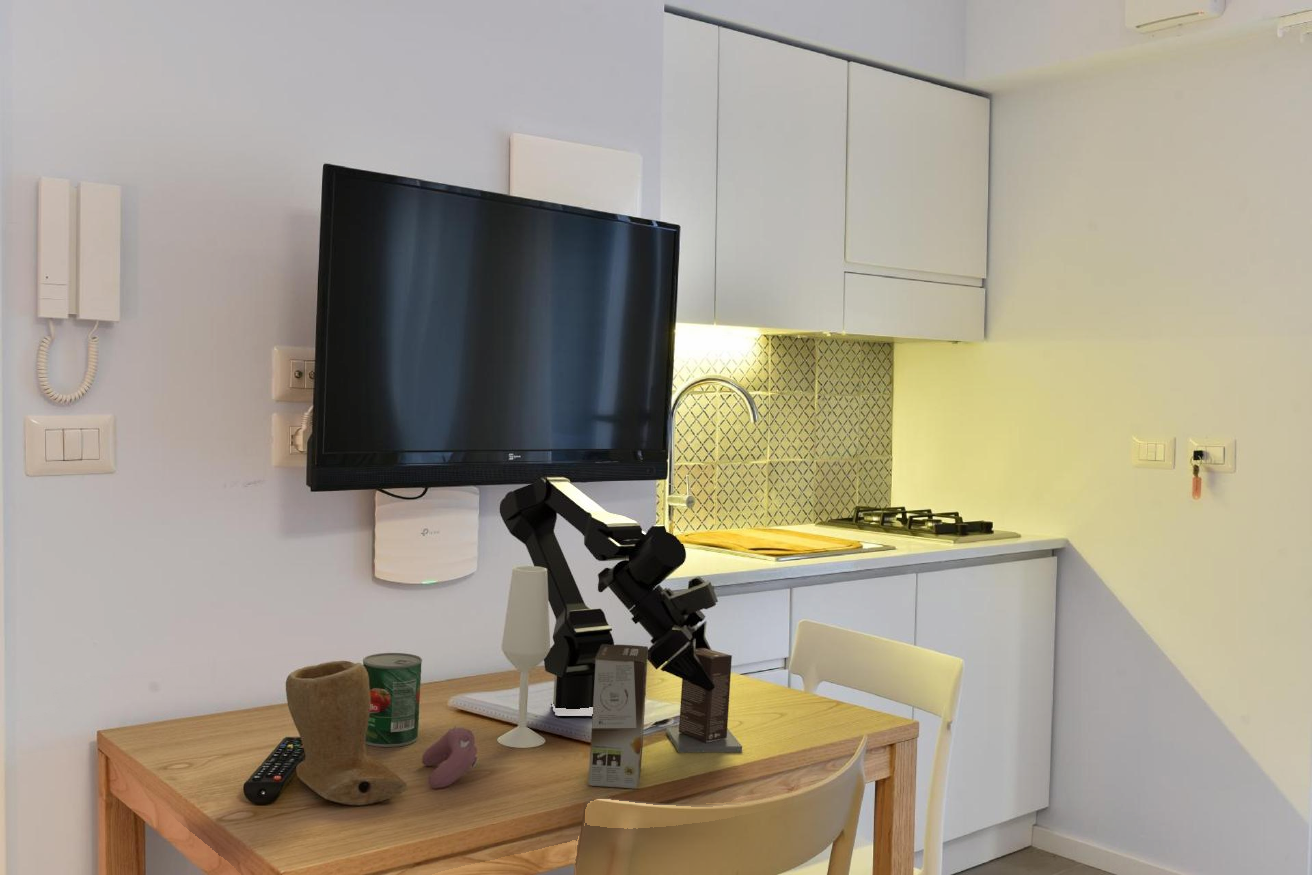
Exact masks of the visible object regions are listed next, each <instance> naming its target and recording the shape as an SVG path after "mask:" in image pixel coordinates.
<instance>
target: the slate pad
mask: <svg viewBox="0 0 1312 875" xmlns="http://www.w3.org/2000/svg"><path fill="white" fill-rule="evenodd" d="M665 729H666V730H665V734H666V735H667V737H668V738H669V739H670V741H671V743H672V744H673V747H675V749H676V750H677V752H678V753H742V752H743V745H742V744H741V743H740V742H739V741H738V739H737V738H736V737H735V736H734V735H733V733H732V731H730V730H729V728H728V727H727V738H725V739H722V740H718V741H714V742H705V741H702V740H700V739H697V738H694V737H692V736H689V735H686V734H683V733H680V732H679V726H675V727H674V726H669V727H668V726H667V727H666V728H665Z"/></svg>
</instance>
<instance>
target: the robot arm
mask: <svg viewBox="0 0 1312 875" xmlns="http://www.w3.org/2000/svg"><path fill="white" fill-rule="evenodd" d="M499 515H500V517H501V519H502V522H503V523H504V525H505V526H506V528H507V530H508V532H509V534H510V535H512V536H513V537H514V538H515V539H517V540H519V541H520V542H521V543H522V544H523V545H525V547H526V550H527V552H528V554H529V557H530V559H531V561H532V564H533V566H536V567H543V568H546V569H547V580H548V604H549V605H550V607H551V611H552V613H553V615H554V618H555V623H554V629H553V634H552V640H553V644H552V646H550V651H549V653H548V655H547V656H546V657H545V659H544V660H543V664H544V670H545V672H546V673H549V674H552V675H554V680H553V682H554V683H553V697H552V698H553V701H552V702H553V704H554V706H555V708H566V709H580V708H589V707H593V695H594V679H595V657H596V655H597V653H598V651H599V649H600V647H601V645H602V644H608V645H615V640H614V637H613V634H612V631H613V629H612V627H611V626H610V625H609V623H608V620H607V618H606V614H605V612H604V611H603V609H602V608H601V607H598V608H597V607H596V608H590V607H588V606H587V605H586V603H585V601H584V598H583V597H582V593H581V591H580V588H579V586H578V585H577V582H576V580H575V578H574V575H573V573H572V570H571V568H570V566H569V563H568V562H567V559H566V556H565V554H564V552H563V550H562V547H561V545H560V543H559V541H558V539H557V535H556V534H555V529H556V528H555V527H556V524H557V520H558V515H559V516H561V517H562V518H563V519H564V520H565V521H567V522H568V524H570V525H571V526H572V527H574V528H575V529H576V530H577V531H578V532H579V533H581V534H582V536H583V539H584V540H583V545H584V547H585V548H586V549H587V550H588V551H589V553H590V554H591V555H592V556H593V557H594V559H596V561H598V562H609V561H619V562H617V563H616V564H615V565H614V566H612V568H610V567H605V568H603V570H602V569H601V571H600V572H599V573H598V574H597V577H598V584H597V591H598V593H603V592H604V591H605V590H606V589H608V588H609V589H610V591H611V592H612V593H613V594H614V595H615V596H616V598H618V600H619V601H620V603H622V604H623V606H624V607H625V608H626V609H627V610H628V611H629V613H631V615H632V617H631V620H632V621H633V623H634V624H635V625H637V624H638V623H639V624H640V625H641V626H642V628H643V629H644V631H646V632H647V633H648V635H649V636H650V637H651V639H650V643H651V645H650V647H648V656H647V661H648V662H649V663H650V664H651V665H652V666H653V667H654V669H655V670H658V669H659V668H660V670H661V671H662V672H666V673H668V674H670V675H673V676H674V677H677V678H680V679H681V680H682V679H684V680H686V681H688V682H690V683H692V684H694V685H696V686H698V687H701V688H703V689H705V690H707V691H709V692H710V691H712V690H713V689H714V688H715V685H714V683H713V681H712V680H711V678H710V676H709V675H708V673H707V672H706V670H705V668H704V667H703V665H702V664H701V662H700V661H699V659H698V657H697V656H696V654H695V649H696V648H706V649H710V650H712V648H711V646H710V644H709V642H708V640H707V638H706V632H707V631H706V629H707V624H708V623H707V620H705V618H706V615H705V614H704V613H703V612H702V610H708V609H711V608H713V607H715V606H716V605H717V603H718V602H719V600H718V598H717V595H716V593H715V587H714V585H712V583H711V580H707V581H705V580H704V579H703V578H701V576H696V577H694V578H692V579H691V578H690V580H689V581H688V583H687V584H688V585H687V588H686V589H683V590H682V591H678V592H676V593H674V592H673V591H672V590H671V588H667V587H665V588H664V589H663V587H662V586H661V583H663V582H664V581H665V580H666V579H667V578H668V577H670V576H671V574H673V573H675V572H676V571H677V569H679V568H680V567H681V566H682V565H683V564H684V563H685V562H686V558H687V552H686V551H687V550H686V547H685V545H684V544H683V543H682V542H681V540H679V539H678V538H677V537H676V535H674V534H673V533H671V532H669V531H667V529H666V525H664V524H658V525H651V527H650V528H649V529H648V530H647V532H645V531H643V529H642V526H641V525H640V524H639V523H638V522H637V521H636V520H633V519H631V518H629V517H627V516H624V515H620V514H615V513H612V512H611V513H610V512H608V511H606V510H605V509H604V508H602V507H601V506H600V505H599V504H597V503H596V502H595V501H594V500H592V499H590V497H588V496H587V495H586V494H585V493H584V492H582V491H581V490H580V489H578V488H577V487H575V486H574V485H573V484H572V481H570V479H569V478H566V477H564V476H542V477H541V478H538V479H536V480H535V481H534V482H532V483H530V484H527V485H525V486H522V487H520V488H516V489H514V490H512V491H511V490H510V491H509V492H507V493H505V496H504V498H502V500H501V501H500V504H499ZM704 620H705V621H704ZM703 621H704V622H703ZM702 622H703V623H702ZM699 623H701V624H700V625H698V624H699Z"/></svg>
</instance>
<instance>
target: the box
mask: <svg viewBox="0 0 1312 875" xmlns="http://www.w3.org/2000/svg"><path fill="white" fill-rule="evenodd" d="M695 654H696V656H697V657H698V659H699V661H700V662H701V664H702V665H703V667H704V668H705V670H706V672H707V673H708V675H709V676H710V678H711V680H712V681H713V683H714V685H715V688H714V689H713V690H712V691H710V692H709V691H707V690H705V689H703V688H701V687H698V686H696V685H694V684H692V683H690V682H688V681H686V680H684V679H682V678H681V694H680V706H679V707H680V709H679V724H678V727H679V732H680V733H683V734H686V735H689V736H692V737H694V738H697V739H700V740H702V741H705V742H714V741H718V740H722V739H725V738H727V728H728V721H729V709H730V708H729V707H730V693H731V692H730V691H731V675H732V673H731V672H732V658H733V655H731V654H729V653H724V652H719V651H717V650H713V649H711V650H710V649H706V648H696V649H695Z"/></svg>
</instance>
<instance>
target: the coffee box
mask: <svg viewBox="0 0 1312 875" xmlns="http://www.w3.org/2000/svg"><path fill="white" fill-rule="evenodd" d="M648 649H649V646H644V645H634V644H633V645H632V644H614V645H608V644H602V645H601V647H600V649H599V651H598V653H597V655H596V657H595V679H594V695H593V714H592V718H591V733H590V734H591V736H590V752H589V754H590V756H589V767H588V768H589V770H588V772H589V773H588V786H591V787H606V788H620V789H621V788H622V789H631V790H632V789H637V788H638V785H639V780H640V774H641V771H642V770H641V769H642V761H643V749H644V748H643V745H644V728H645V727H644V726H645V713H646V711H645V708H646V707H645V706H646V692H647V690H646V689H647V674H648V659H647V658H648Z"/></svg>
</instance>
